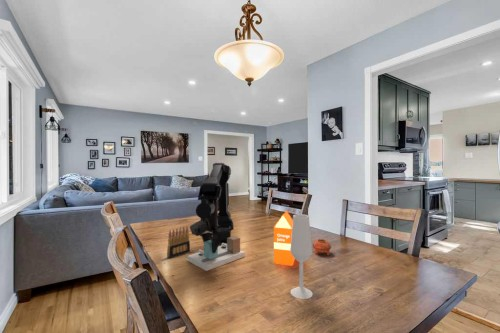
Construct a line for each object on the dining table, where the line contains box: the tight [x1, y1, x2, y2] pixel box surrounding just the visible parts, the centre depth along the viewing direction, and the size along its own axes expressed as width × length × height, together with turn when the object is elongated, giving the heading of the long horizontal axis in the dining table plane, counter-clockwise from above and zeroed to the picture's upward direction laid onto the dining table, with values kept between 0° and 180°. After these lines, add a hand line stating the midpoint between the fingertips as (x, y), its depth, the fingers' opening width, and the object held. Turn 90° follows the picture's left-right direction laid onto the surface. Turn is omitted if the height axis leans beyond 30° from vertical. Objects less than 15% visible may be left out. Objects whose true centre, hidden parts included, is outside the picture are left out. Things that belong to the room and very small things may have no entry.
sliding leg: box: [198, 240, 218, 259], centre depth 98 cm, size 4×10×7 cm, turn 45°
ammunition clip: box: [166, 225, 191, 259], centre depth 106 cm, size 11×2×12 cm, turn 141°
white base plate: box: [186, 235, 246, 272], centre depth 101 cm, size 20×14×8 cm
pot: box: [312, 238, 332, 256], centre depth 107 cm, size 8×8×7 cm
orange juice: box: [273, 210, 296, 267], centre depth 99 cm, size 8×9×20 cm
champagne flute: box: [290, 213, 313, 300], centre depth 74 cm, size 7×7×24 cm
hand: (210, 251), depth 96 cm, fingers closed on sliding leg, 4 cm apart
